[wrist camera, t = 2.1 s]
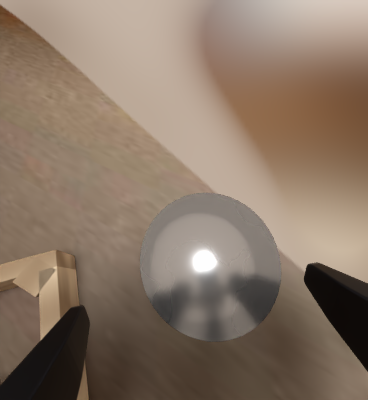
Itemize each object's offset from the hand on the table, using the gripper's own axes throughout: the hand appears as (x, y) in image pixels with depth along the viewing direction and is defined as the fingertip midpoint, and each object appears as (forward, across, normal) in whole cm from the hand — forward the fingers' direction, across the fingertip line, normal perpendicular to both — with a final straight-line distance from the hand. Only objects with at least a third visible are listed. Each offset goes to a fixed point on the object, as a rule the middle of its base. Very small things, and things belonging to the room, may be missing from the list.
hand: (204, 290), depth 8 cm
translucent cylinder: (+7, 0, +6) cm, 9 cm away
